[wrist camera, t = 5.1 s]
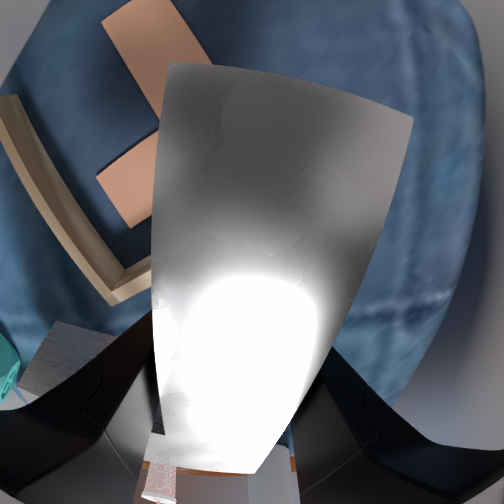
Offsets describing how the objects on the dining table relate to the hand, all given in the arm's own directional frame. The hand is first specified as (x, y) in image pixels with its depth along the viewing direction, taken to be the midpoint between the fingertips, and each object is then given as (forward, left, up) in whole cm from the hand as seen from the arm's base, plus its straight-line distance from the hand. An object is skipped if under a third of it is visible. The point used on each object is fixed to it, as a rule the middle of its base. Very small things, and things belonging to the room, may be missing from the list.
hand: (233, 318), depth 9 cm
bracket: (-2, +2, -1) cm, 3 cm away
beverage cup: (-35, -34, -11) cm, 50 cm away
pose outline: (-2, +9, -11) cm, 15 cm away
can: (-15, -36, -11) cm, 40 cm away
